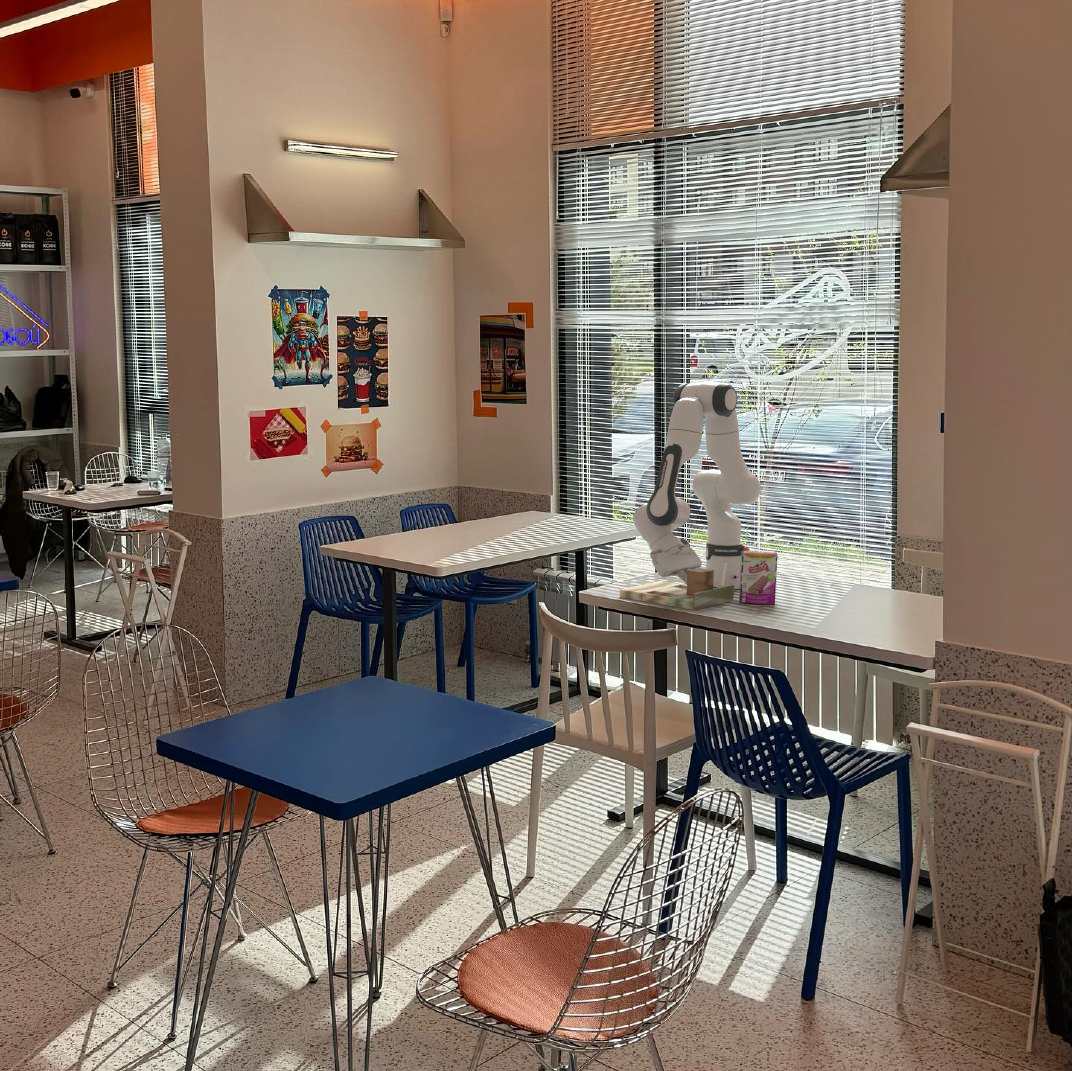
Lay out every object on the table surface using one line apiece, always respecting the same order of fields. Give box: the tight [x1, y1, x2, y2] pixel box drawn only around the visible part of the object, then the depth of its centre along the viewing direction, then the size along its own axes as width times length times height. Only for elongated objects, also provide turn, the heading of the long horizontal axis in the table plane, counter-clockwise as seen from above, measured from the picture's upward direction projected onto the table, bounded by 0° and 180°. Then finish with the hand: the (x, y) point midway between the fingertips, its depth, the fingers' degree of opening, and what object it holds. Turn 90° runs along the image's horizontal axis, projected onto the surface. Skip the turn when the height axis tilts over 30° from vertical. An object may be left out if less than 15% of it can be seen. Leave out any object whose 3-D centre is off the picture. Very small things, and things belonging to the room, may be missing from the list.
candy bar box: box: [738, 550, 779, 606], centre depth 394 cm, size 11×5×16 cm, turn 84°
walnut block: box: [686, 567, 714, 596], centre depth 394 cm, size 6×6×8 cm
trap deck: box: [619, 580, 735, 611], centre depth 400 cm, size 29×22×5 cm
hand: (691, 582), depth 396 cm, fingers closed, pressing on walnut block
